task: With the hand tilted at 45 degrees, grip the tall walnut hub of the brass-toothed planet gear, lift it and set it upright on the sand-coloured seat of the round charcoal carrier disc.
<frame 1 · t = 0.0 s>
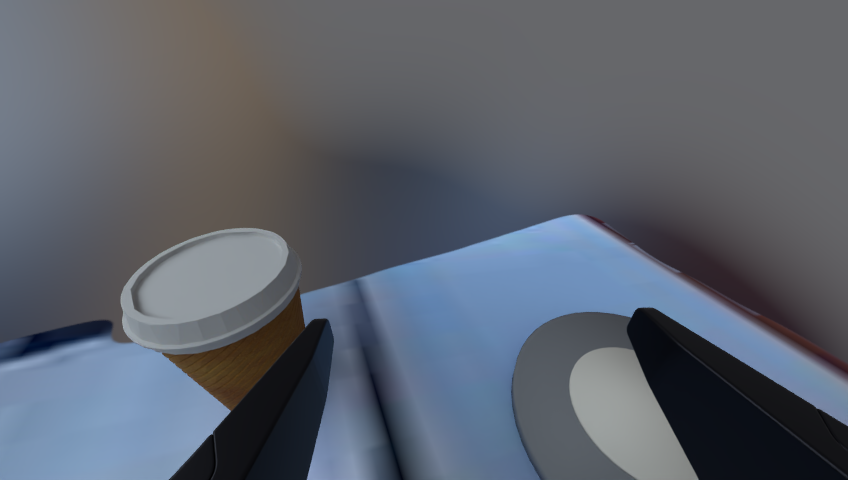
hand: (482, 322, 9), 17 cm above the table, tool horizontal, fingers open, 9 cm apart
carrier disc: (638, 418, 23), on the table
disposable coffee cup: (271, 381, 26), on the table
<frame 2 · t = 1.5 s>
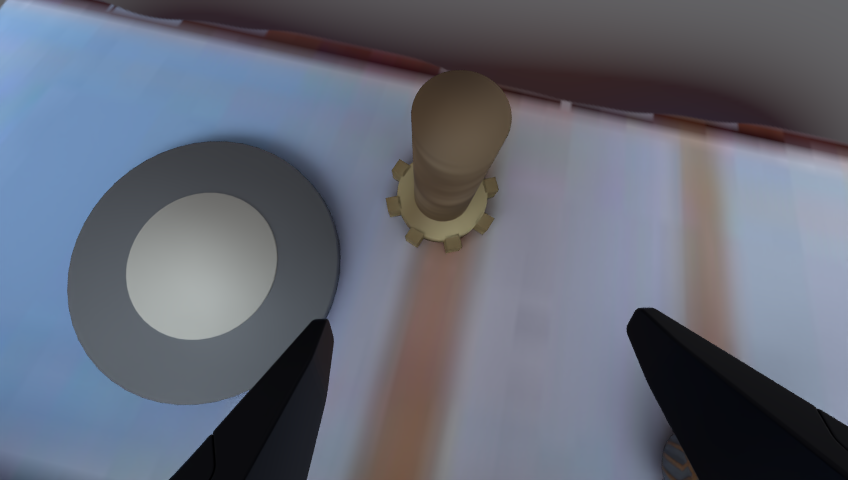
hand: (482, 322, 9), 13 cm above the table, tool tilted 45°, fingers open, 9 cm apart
carrier disc: (215, 265, 23), on the table
vase: (690, 461, 21), on the table
planet gear: (440, 200, 24), on the table
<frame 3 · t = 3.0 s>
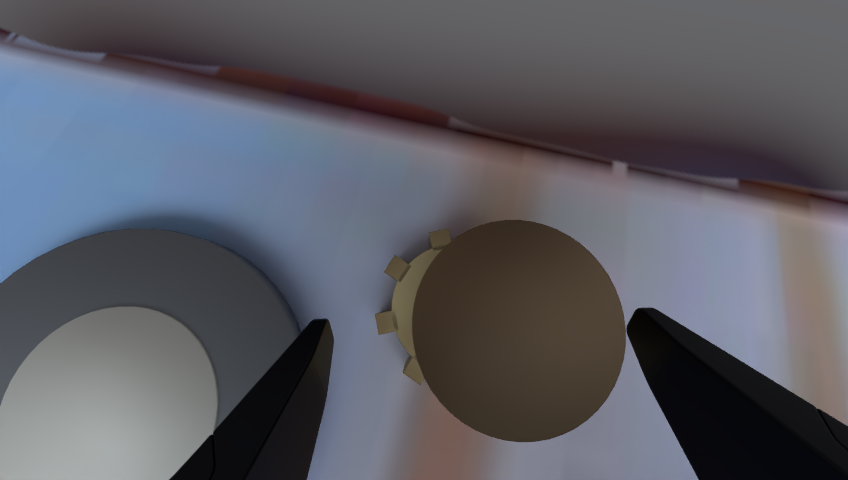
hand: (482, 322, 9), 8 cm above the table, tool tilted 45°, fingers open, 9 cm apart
carrier disc: (133, 405, 16), on the table
planet gear: (452, 306, 17), on the table
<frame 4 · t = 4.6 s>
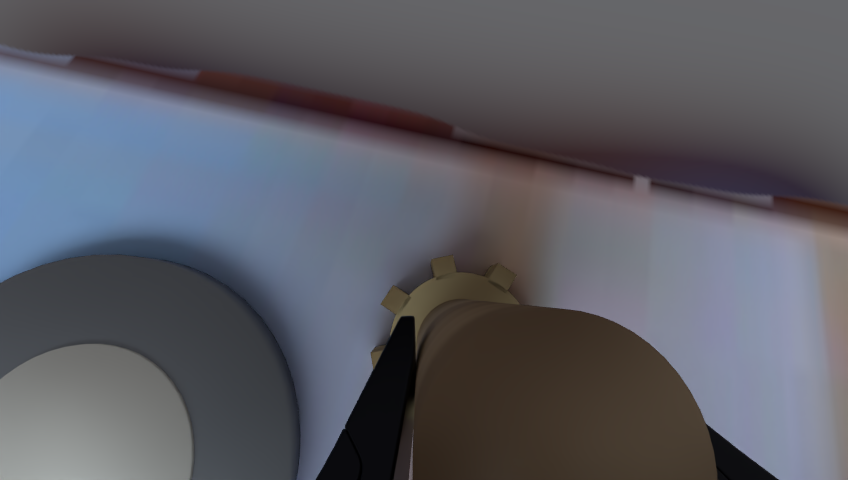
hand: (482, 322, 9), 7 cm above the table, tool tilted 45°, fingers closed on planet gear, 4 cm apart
carrier disc: (101, 453, 14), on the table
planet gear: (457, 339, 15), on the table, touching gripper
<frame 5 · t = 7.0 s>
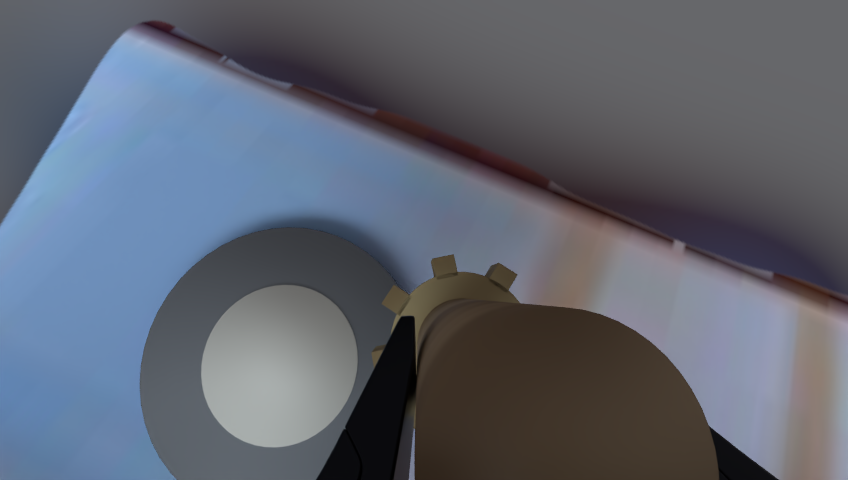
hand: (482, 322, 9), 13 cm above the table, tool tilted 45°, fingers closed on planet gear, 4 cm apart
carrier disc: (288, 358, 22), on the table
planet gear: (457, 339, 15), point 7 cm above the table, touching gripper
when the fingers open (9 cm above the table, at t = 9.3 s): planet gear drops 1 cm, resting on carrier disc.
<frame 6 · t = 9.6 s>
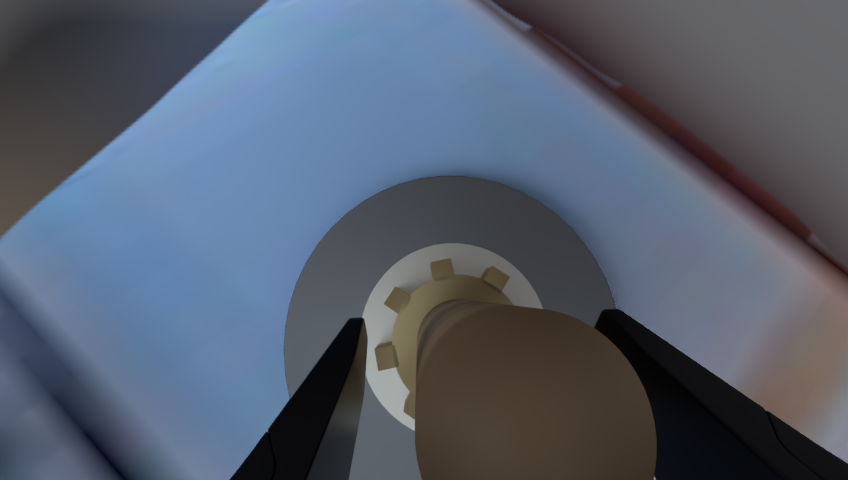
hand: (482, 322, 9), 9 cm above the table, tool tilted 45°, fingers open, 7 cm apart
carrier disc: (451, 333, 18), on the table
planet gear: (455, 337, 16), point 1 cm above the table, touching carrier disc
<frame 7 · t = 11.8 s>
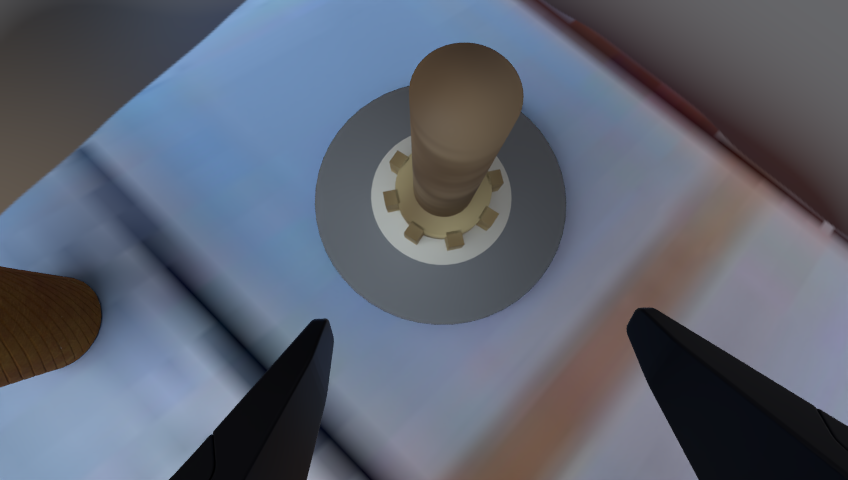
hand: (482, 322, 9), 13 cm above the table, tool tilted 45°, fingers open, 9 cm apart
carrier disc: (440, 200, 24), on the table
disposable coffee cup: (58, 322, 22), on the table
planet gear: (441, 195, 22), point 1 cm above the table, touching carrier disc
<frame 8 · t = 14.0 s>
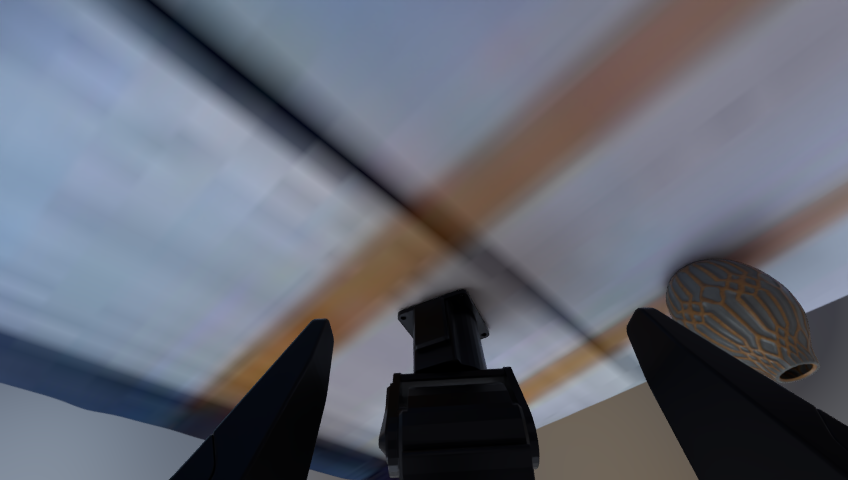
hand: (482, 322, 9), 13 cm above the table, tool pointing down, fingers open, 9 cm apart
vase: (691, 276, 27), on the table
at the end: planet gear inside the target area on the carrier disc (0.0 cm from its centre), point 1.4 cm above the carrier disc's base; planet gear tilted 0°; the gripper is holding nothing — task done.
